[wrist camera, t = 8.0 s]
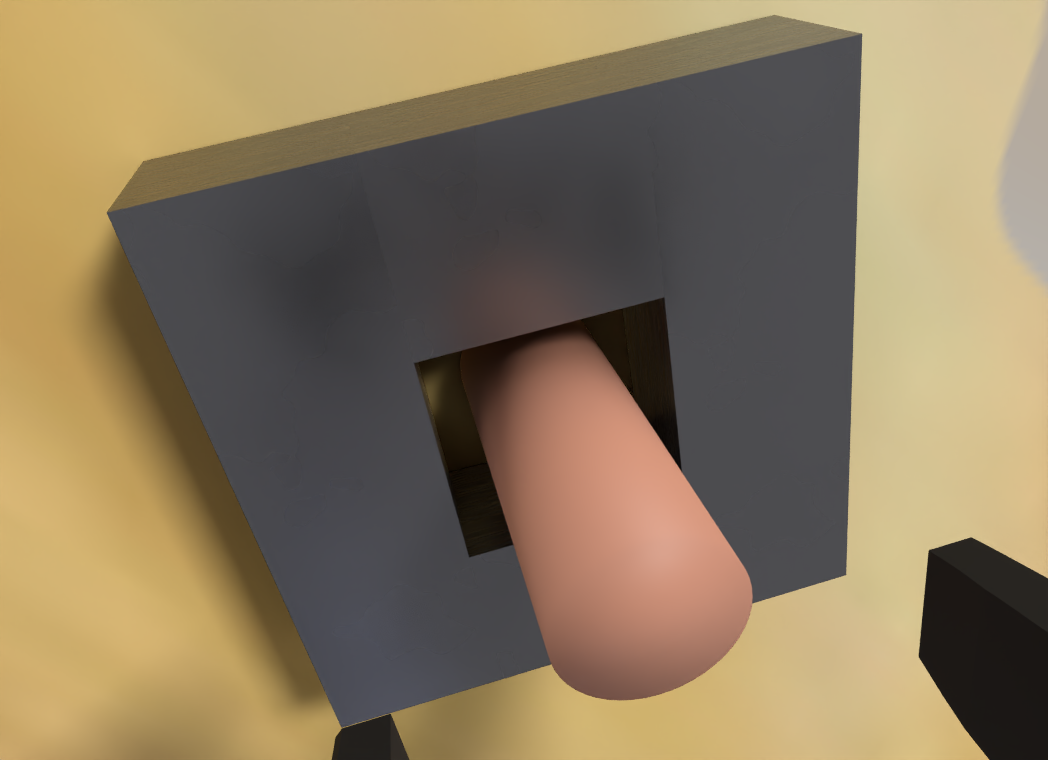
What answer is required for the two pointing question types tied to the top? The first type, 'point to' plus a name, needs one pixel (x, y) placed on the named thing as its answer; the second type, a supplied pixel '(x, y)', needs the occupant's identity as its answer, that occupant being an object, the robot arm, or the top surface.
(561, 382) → the pin
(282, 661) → the top surface
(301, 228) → the collar block
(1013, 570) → the robot arm
